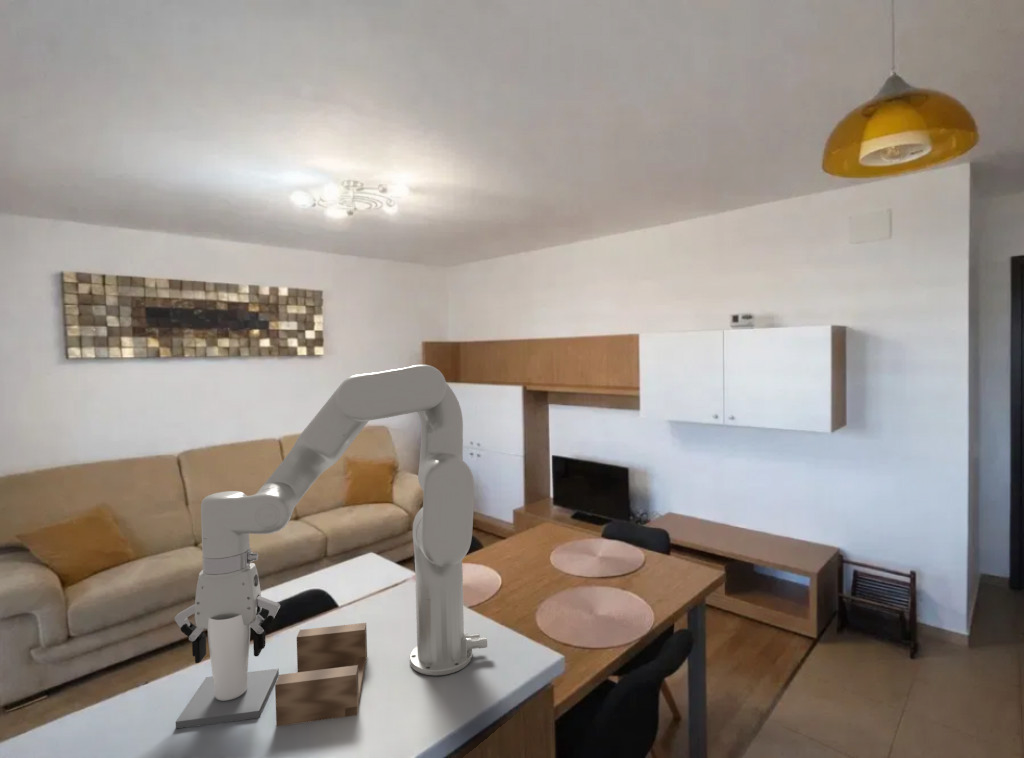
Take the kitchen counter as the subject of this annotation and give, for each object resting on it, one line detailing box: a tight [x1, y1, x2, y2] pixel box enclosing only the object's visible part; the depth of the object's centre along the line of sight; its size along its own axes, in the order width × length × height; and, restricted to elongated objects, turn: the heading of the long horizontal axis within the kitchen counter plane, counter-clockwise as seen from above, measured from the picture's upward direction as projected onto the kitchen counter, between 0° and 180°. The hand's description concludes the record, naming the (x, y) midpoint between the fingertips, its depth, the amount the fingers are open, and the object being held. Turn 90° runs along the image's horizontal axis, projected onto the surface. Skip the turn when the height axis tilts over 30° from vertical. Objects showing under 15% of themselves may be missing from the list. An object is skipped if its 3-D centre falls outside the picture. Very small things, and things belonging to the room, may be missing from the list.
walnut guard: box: [274, 622, 368, 727], centre depth 98 cm, size 13×19×7 cm
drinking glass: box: [206, 615, 251, 701], centre depth 94 cm, size 7×7×15 cm
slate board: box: [175, 668, 280, 729], centre depth 95 cm, size 13×13×1 cm
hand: (229, 655), depth 95 cm, fingers open, 9 cm apart
